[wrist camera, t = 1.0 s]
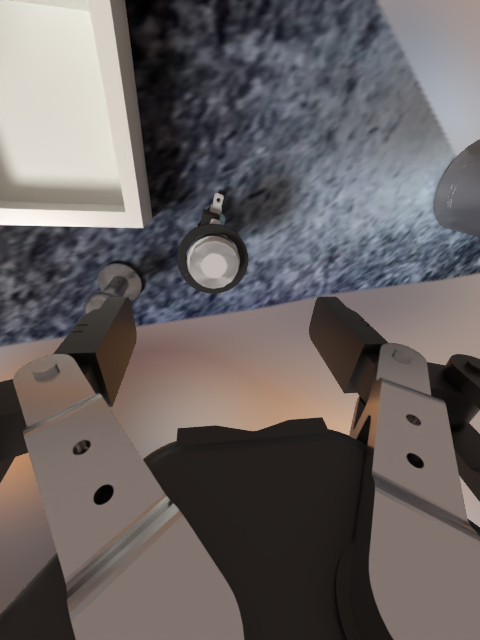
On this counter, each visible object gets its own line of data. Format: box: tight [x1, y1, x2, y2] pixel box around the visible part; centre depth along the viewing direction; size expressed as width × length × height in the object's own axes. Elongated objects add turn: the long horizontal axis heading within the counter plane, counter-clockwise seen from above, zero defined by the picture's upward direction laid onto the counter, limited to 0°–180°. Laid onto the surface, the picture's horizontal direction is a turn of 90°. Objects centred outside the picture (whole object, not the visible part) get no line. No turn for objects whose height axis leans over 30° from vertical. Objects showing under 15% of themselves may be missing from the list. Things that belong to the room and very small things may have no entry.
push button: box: [177, 193, 248, 293], centre depth 22 cm, size 7×5×10 cm
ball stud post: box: [84, 262, 142, 314], centre depth 25 cm, size 4×4×8 cm
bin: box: [0, 0, 152, 228], centre depth 18 cm, size 14×14×5 cm
